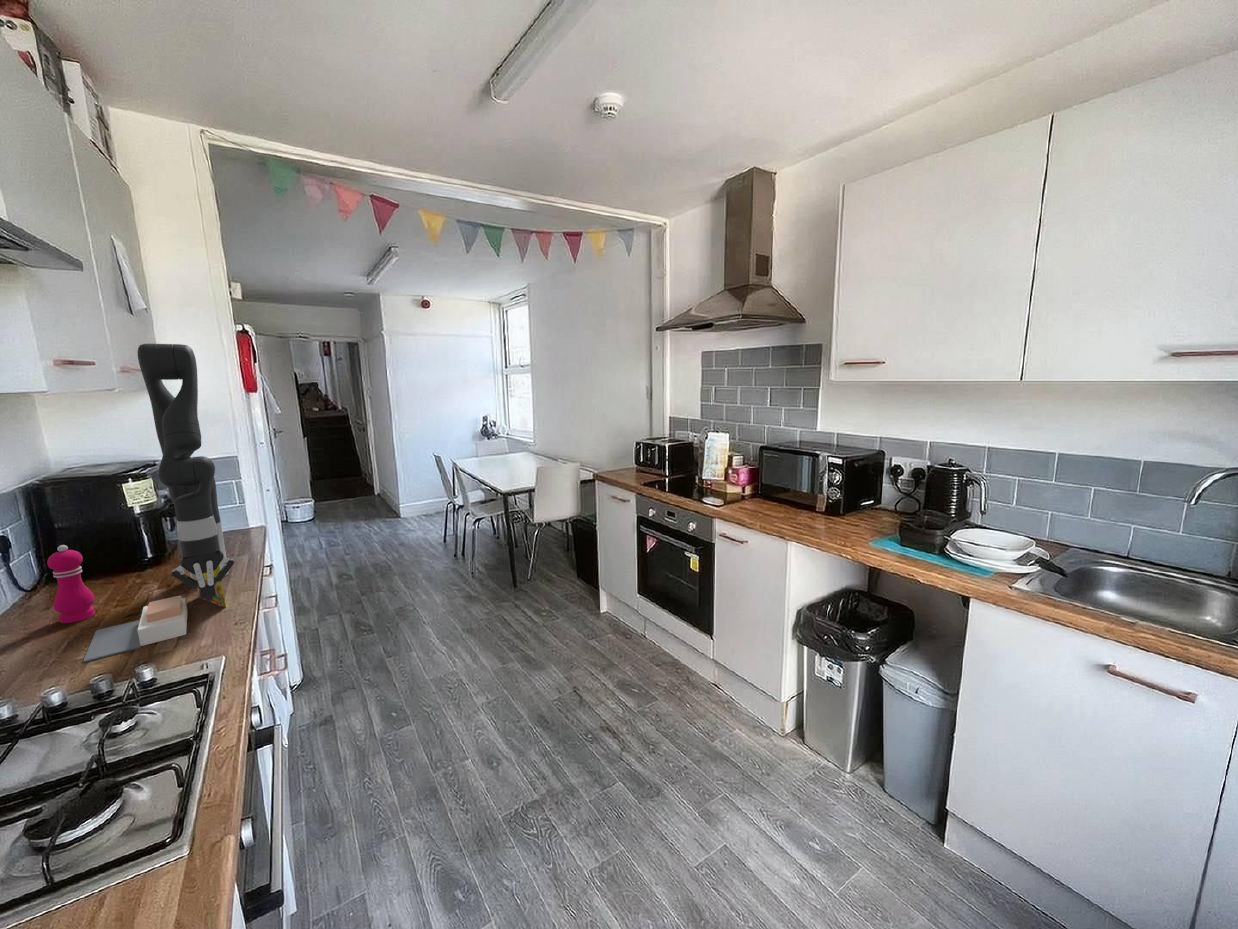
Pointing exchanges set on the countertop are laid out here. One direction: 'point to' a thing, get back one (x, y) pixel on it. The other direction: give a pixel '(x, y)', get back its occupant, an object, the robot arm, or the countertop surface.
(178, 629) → the white box
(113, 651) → the rubber mat
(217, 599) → the food package
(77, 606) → the pepper mill
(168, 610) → the terracotta tile
